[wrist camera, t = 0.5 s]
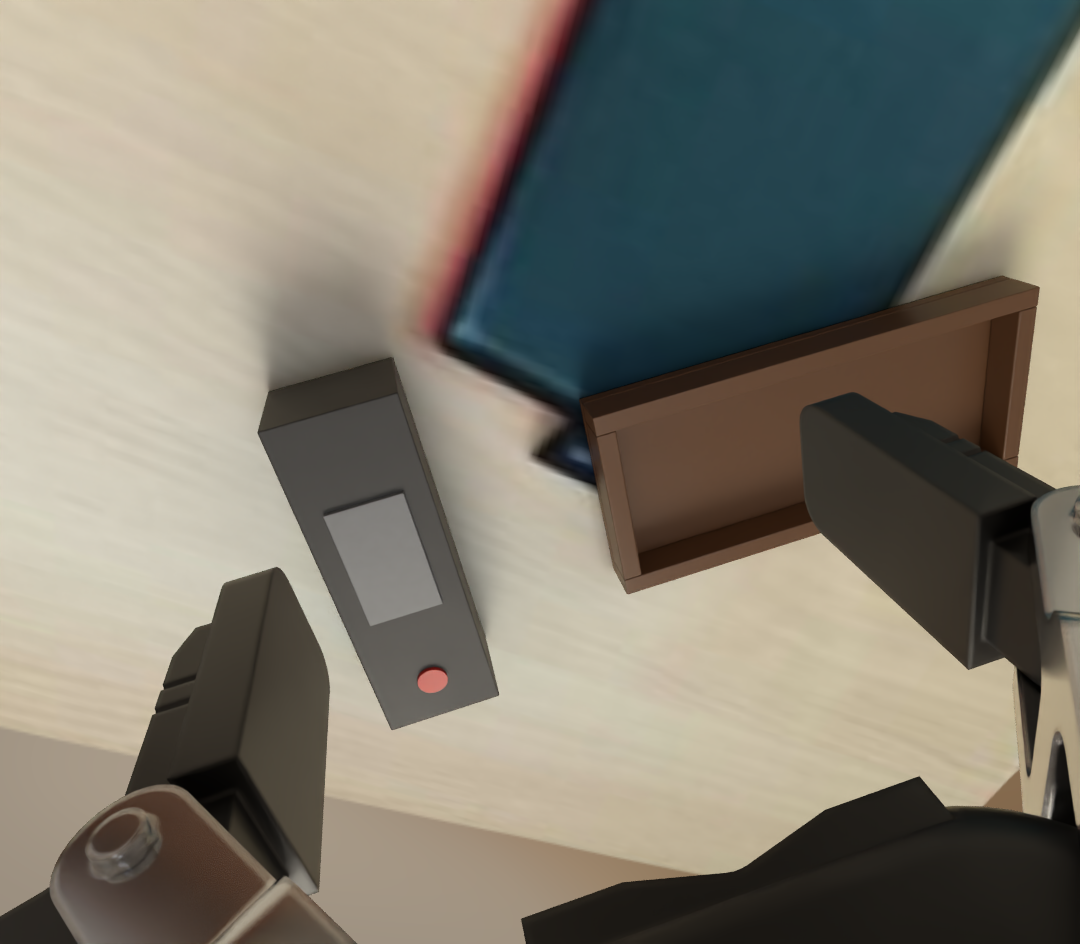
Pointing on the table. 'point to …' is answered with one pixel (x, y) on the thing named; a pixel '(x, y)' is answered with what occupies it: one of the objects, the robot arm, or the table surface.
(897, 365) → the tray
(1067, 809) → the robot arm
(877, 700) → the table surface
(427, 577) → the remote
